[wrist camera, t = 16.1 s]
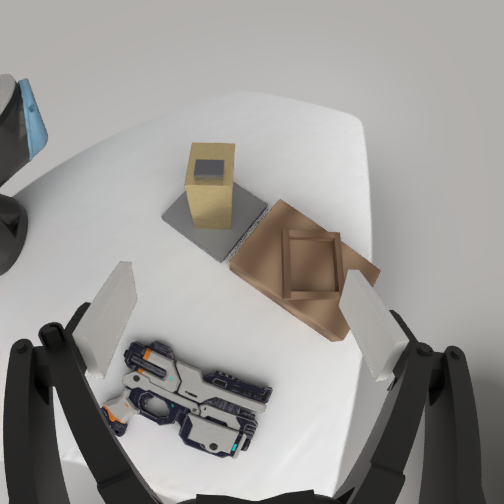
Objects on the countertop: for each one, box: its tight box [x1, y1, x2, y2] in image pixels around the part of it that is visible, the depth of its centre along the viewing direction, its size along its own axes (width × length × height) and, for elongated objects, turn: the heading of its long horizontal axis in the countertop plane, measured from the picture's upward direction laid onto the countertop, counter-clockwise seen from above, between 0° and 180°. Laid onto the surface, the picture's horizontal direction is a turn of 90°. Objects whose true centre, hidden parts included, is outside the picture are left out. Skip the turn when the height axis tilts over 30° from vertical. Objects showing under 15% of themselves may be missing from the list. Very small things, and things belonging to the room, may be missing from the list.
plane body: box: [230, 199, 380, 342], centre depth 35 cm, size 17×11×6 cm
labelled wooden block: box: [185, 143, 235, 230], centre depth 34 cm, size 5×6×12 cm
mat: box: [162, 182, 268, 263], centre depth 40 cm, size 11×11×1 cm
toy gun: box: [100, 341, 273, 459], centre depth 30 cm, size 3×20×15 cm
